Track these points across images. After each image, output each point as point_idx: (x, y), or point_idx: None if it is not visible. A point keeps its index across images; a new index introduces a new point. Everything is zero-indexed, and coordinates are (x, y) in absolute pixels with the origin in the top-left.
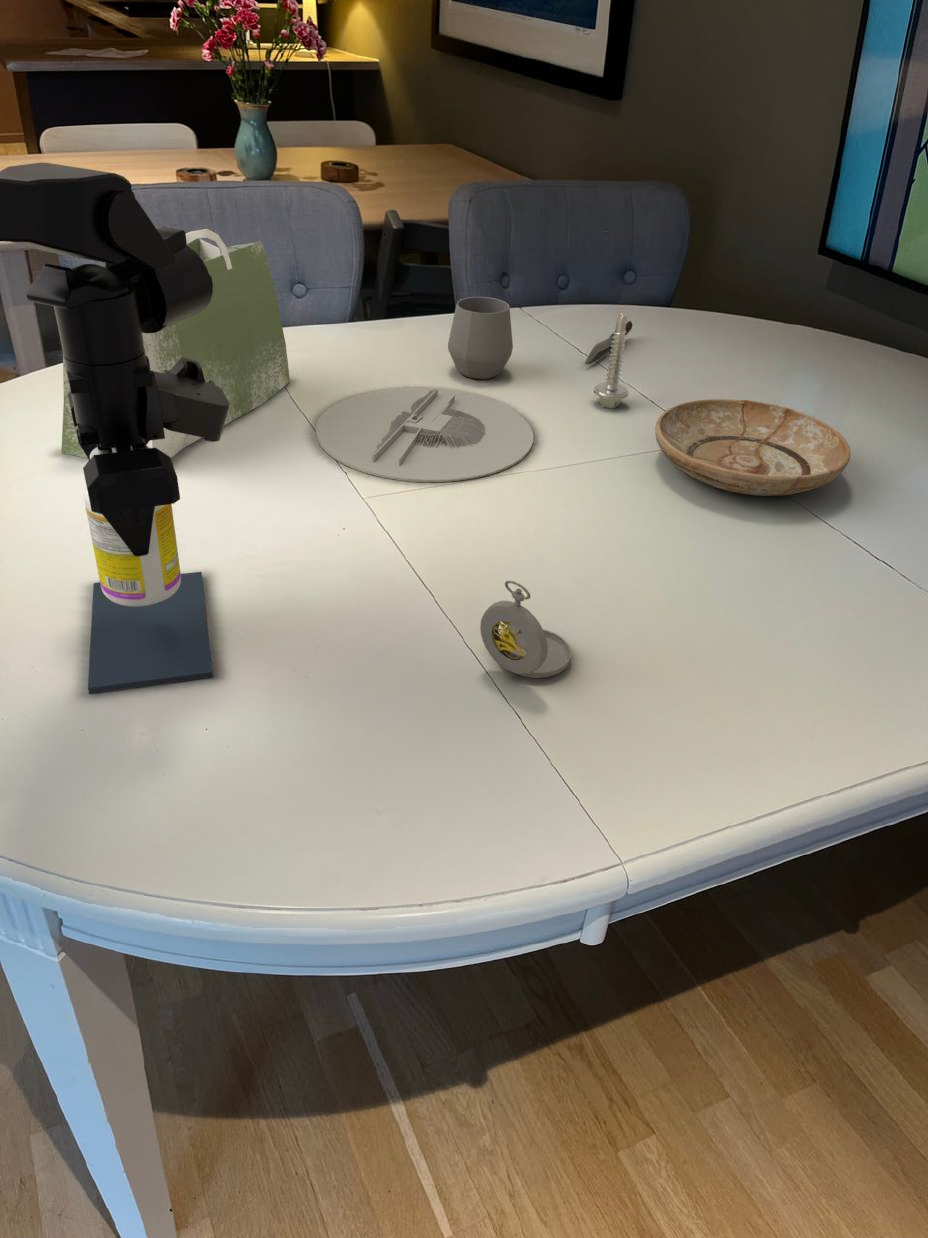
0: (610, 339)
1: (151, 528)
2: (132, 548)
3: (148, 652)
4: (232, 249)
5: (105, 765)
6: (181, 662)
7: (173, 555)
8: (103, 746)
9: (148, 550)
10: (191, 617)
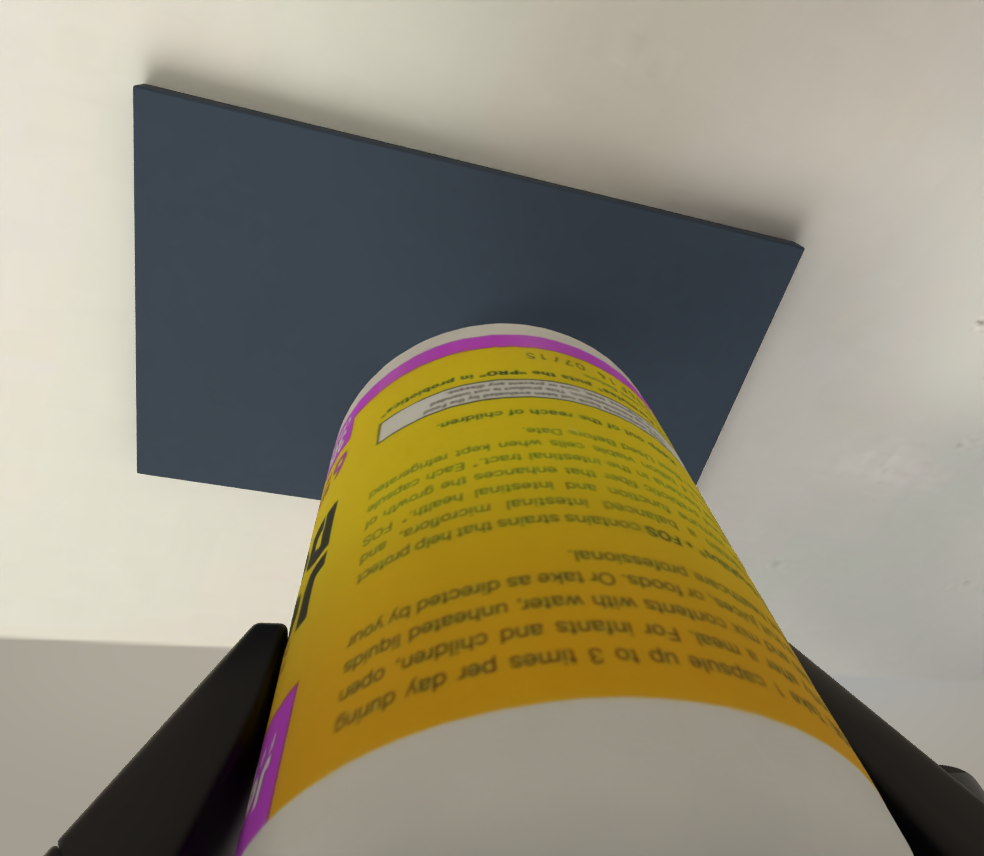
0: None
1: (981, 801)
2: None
3: None
4: None
5: (914, 542)
6: (701, 323)
7: (663, 449)
8: (856, 537)
9: (805, 657)
10: (472, 226)
